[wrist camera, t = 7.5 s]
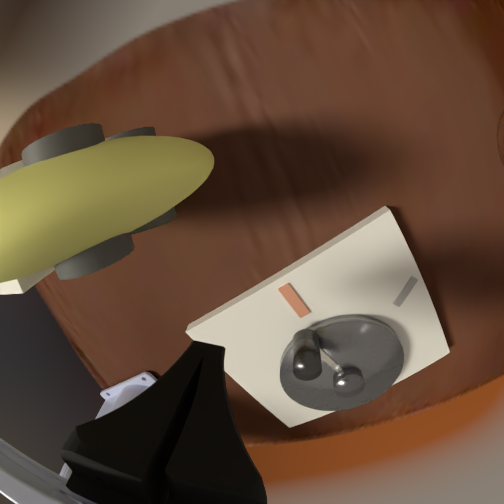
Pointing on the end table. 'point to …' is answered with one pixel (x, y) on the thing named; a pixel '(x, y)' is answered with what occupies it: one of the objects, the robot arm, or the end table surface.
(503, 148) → the beer glass
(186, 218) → the end table surface
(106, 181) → the emoji
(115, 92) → the end table surface
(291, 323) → the base plate
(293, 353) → the cam dial
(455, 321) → the end table surface
